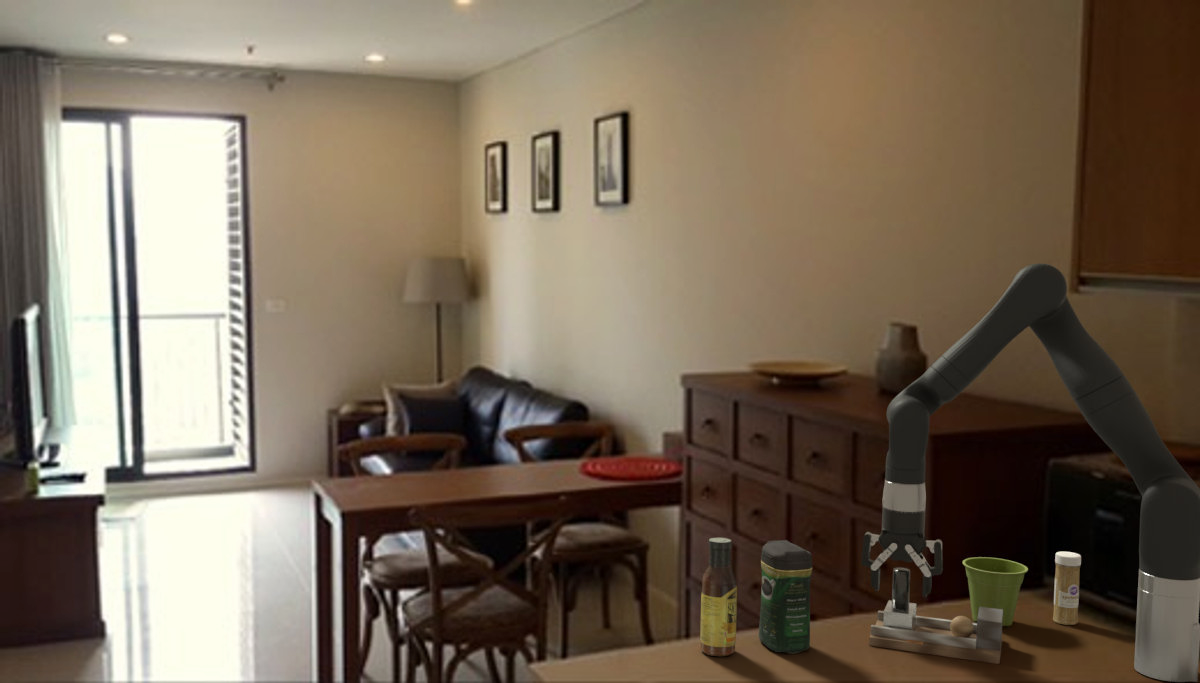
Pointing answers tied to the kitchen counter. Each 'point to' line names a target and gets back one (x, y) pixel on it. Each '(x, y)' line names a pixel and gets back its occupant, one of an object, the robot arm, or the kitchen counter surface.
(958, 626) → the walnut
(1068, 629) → the kitchen counter surface
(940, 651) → the board
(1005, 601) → the plant pot
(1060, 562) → the sprinkles bottle
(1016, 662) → the kitchen counter surface
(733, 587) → the sauce bottle
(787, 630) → the coffee jar
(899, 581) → the sliding jaw
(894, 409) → the robot arm
